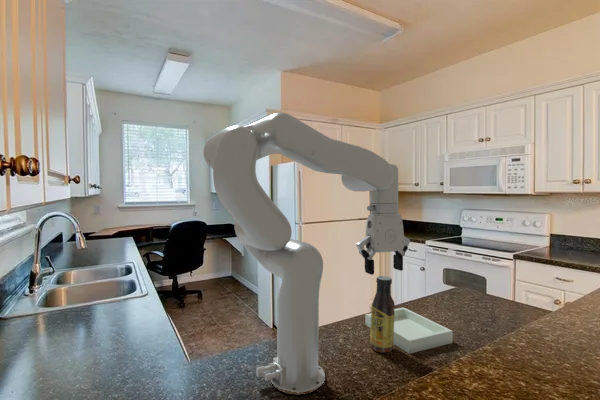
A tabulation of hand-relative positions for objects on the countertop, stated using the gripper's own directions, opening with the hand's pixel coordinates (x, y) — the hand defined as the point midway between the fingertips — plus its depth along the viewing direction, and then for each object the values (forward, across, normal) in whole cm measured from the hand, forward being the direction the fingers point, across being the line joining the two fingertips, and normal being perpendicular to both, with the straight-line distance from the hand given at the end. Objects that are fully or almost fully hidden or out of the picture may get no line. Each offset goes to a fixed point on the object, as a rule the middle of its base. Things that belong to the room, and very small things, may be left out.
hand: (384, 271), depth 86 cm
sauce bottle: (+22, -1, 0) cm, 22 cm away
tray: (+22, +12, +5) cm, 25 cm away
